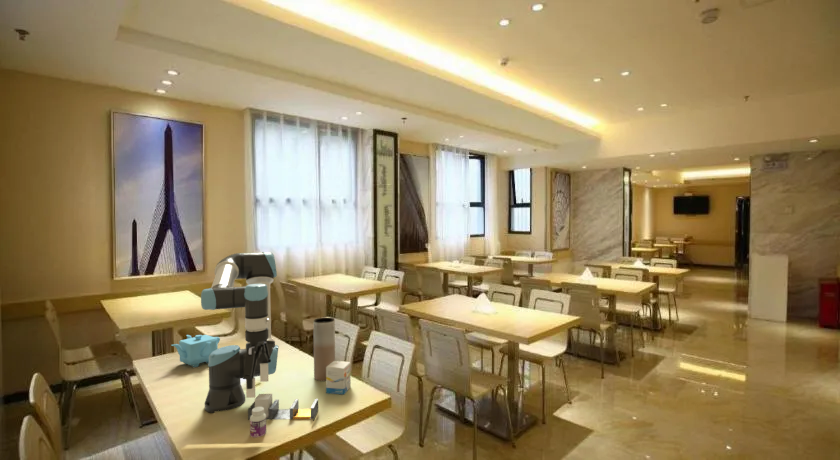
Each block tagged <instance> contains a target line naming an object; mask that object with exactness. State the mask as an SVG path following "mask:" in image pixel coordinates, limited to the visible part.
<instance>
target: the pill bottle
mask: <svg viewBox="0 0 840 460" xmlns="http://www.w3.org/2000/svg"><path fill="white" fill-rule="evenodd" d="M266 434H267V420H266V414H265V413H264V408H263V407H255V408H253V409H252V415H251V417H250V420H249V435H250V437H251V438H260V437H263V436H264V435H266Z"/></svg>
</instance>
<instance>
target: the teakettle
mask: <svg viewBox="0 0 840 460" xmlns="http://www.w3.org/2000/svg"><path fill="white" fill-rule="evenodd" d="M220 340H221V338H220V337H219V336H211V335H209V334H203V335H202V334H196V335H195V336H193V337H192V335H190V334H186V339H181V340H178V343H179V344H178V343H175V344H171V346H172V347H175V349H176V350H177V353H178V355H179V362H181V363H184V364H185V365H186V364H188V365H187V366H191V367H192V368H198V367H199V366H200V364H202V363H206V364H209V355H210V354H211V353H212V352H213V351H214V350H217V349H219V347H218V345H219V343H220Z"/></svg>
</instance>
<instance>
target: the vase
mask: <svg viewBox="0 0 840 460" xmlns="http://www.w3.org/2000/svg"><path fill="white" fill-rule="evenodd" d="M335 322H336V320H335V318H333V317H327V316H326V317H325V316H323V317H318V318H315V319H314V320H312V323H313V326H312V327H313V369H314V370H313V376H314V378H313V379H314V380H315V381H318V382H319V381H320V382H326V367H327V366H328V365H329V364H331V363H332V362H333V361H336V331H335V330H336V327H335V325H336V324H335Z"/></svg>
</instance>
